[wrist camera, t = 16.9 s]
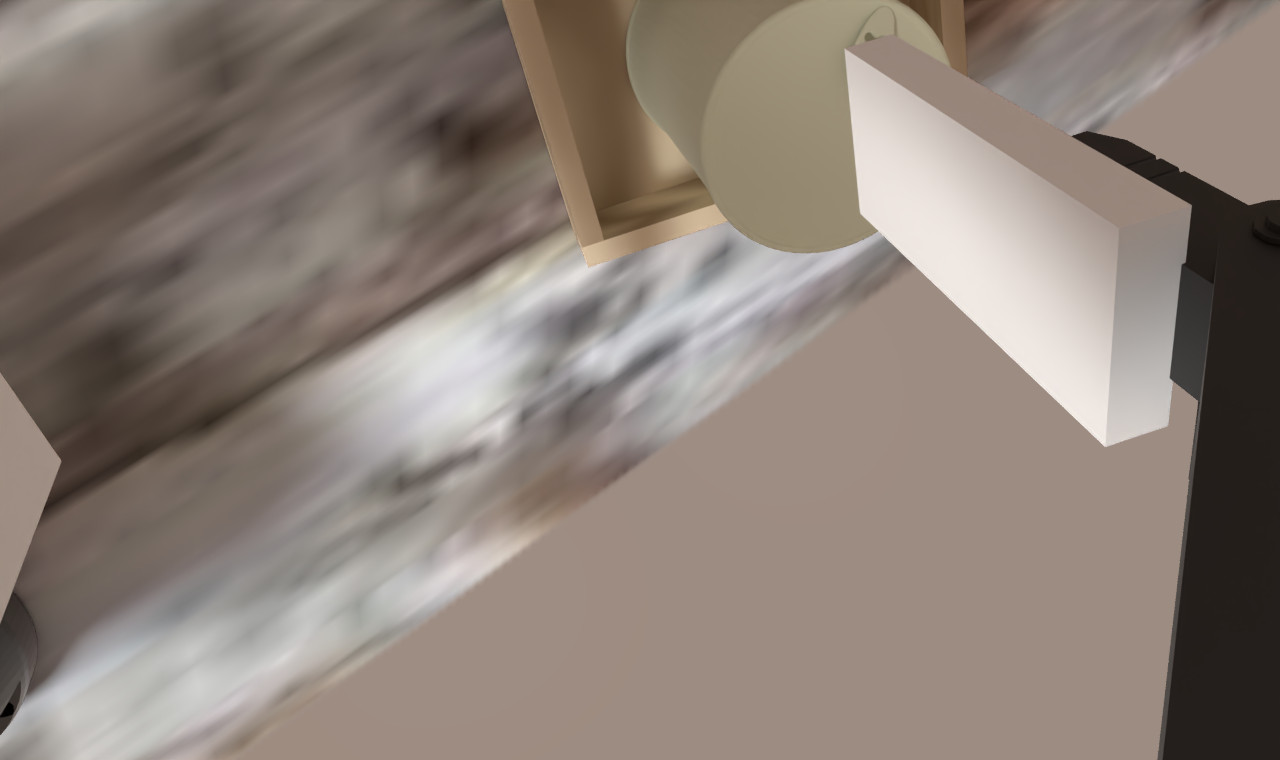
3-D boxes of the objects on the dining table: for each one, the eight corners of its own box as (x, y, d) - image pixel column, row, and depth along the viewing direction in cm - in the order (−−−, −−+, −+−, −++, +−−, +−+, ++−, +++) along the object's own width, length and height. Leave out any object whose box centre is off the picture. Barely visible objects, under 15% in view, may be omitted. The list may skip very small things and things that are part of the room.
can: (866, -31, 44) (1012, 42, 34) (780, 169, 48) (889, 285, 38) (670, -106, 41) (770, -49, 31) (595, 115, 45) (663, 228, 35)
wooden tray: (573, 229, 49) (588, 267, 45) (484, -55, 41) (494, -34, 38) (930, 112, 49) (971, 141, 46) (907, -187, 42) (953, -178, 39)
